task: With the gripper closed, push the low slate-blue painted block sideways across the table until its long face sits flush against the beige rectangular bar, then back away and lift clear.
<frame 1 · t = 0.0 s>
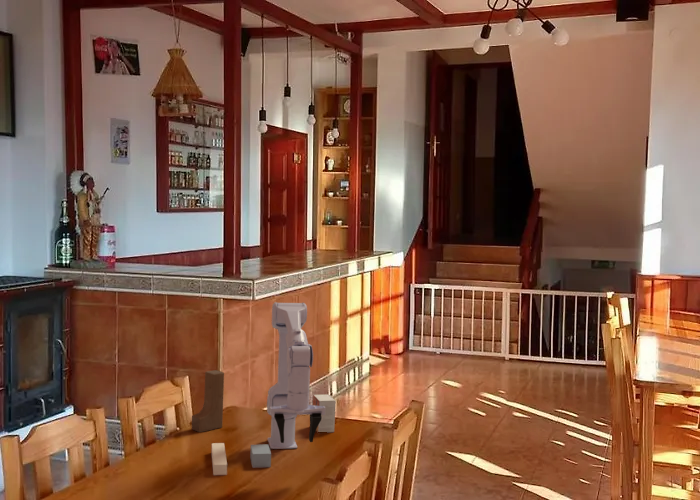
hand: (296, 441, 202), 10 cm above the table, tool pointing down, fingers open, 7 cm apart
block: (260, 463, 214), on the table
wooden block: (206, 429, 243), on the table
beige rectangular bar: (218, 463, 212), on the table
small box: (322, 429, 248), on the table
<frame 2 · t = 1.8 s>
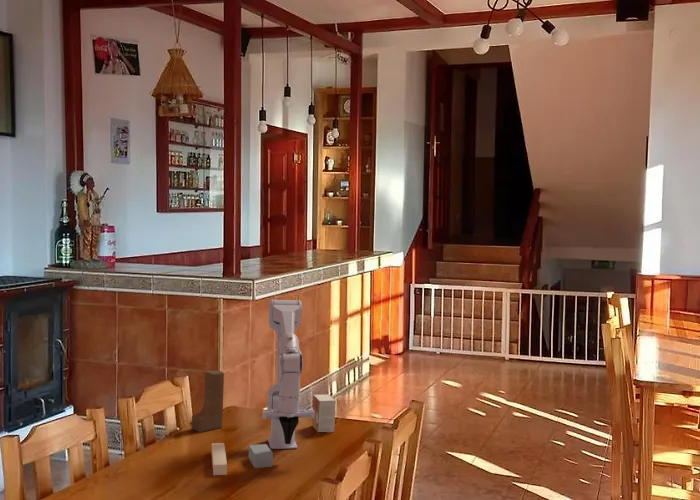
hand: (287, 443, 215), 5 cm above the table, tool pointing down, fingers closed
nothing on the table moved.
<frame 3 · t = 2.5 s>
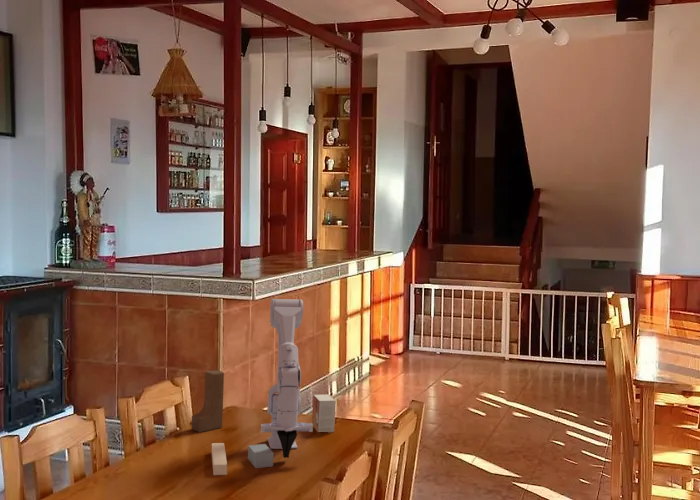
hand: (285, 456, 215), 1 cm above the table, tool pointing down, fingers closed
nothing on the table moved.
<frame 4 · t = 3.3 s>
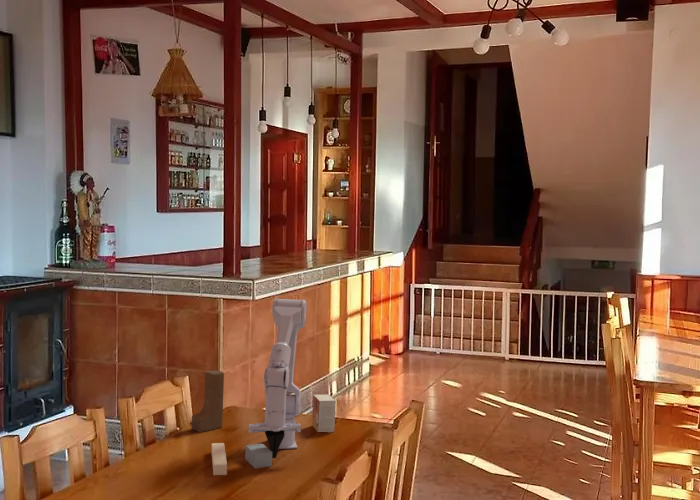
hand: (273, 456, 215), 1 cm above the table, tool pointing down, fingers closed
block: (258, 462, 214), on the table, touching gripper
everything else where it was.
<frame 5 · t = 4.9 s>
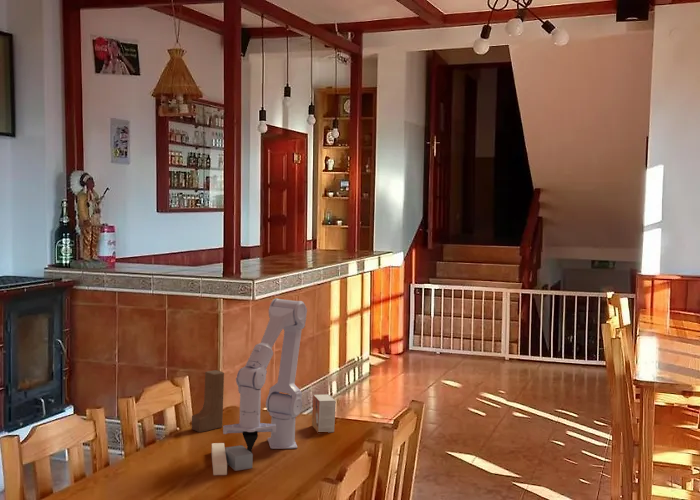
hand: (248, 457, 213), 1 cm above the table, tool pointing down, fingers closed, pressing on block
block: (238, 464, 211), on the table, touching beige rectangular bar, gripper
everything else where it was.
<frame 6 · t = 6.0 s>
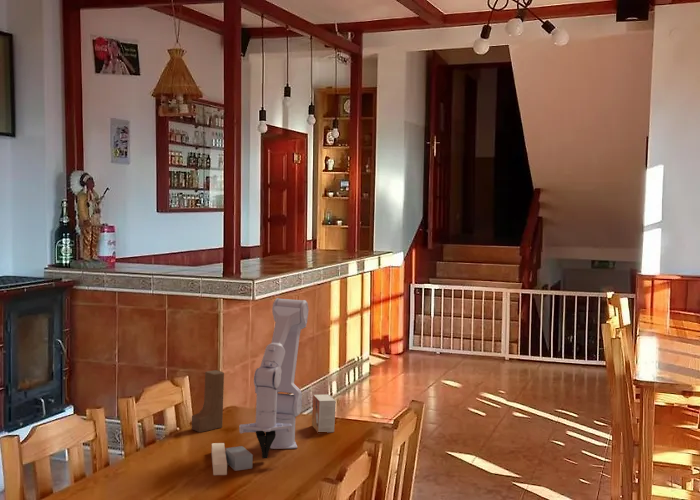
hand: (264, 457, 214), 1 cm above the table, tool pointing down, fingers closed
block: (238, 465, 211), on the table
everything else where it was.
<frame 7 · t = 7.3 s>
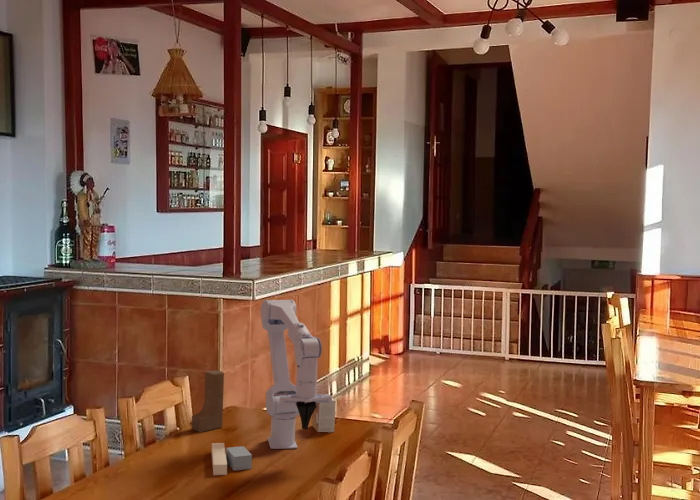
hand: (304, 428, 214), 10 cm above the table, tool pointing down, fingers closed
nothing on the table moved.
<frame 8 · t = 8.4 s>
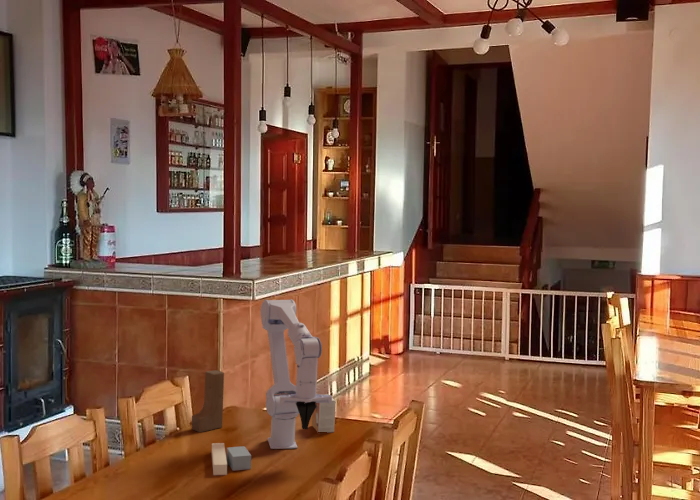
hand: (304, 428, 214), 10 cm above the table, tool pointing down, fingers closed
nothing on the table moved.
at the end: block 1.7 cm from the target spot on the table beside the beige rectangular bar, on the table; block tilted 0°; block moved 6.3 cm from its start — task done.
